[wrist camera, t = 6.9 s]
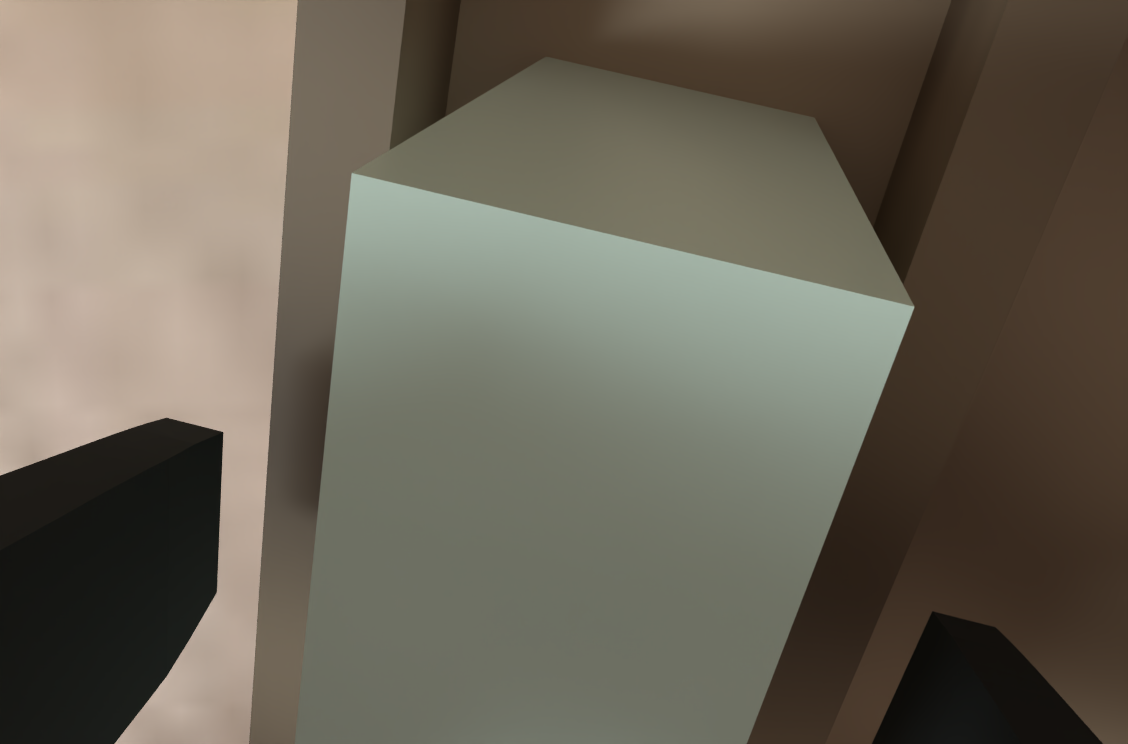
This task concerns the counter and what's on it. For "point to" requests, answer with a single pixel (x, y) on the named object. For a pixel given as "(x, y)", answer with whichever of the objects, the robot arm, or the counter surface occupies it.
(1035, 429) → the rack
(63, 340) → the counter surface
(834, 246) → the pale green block
